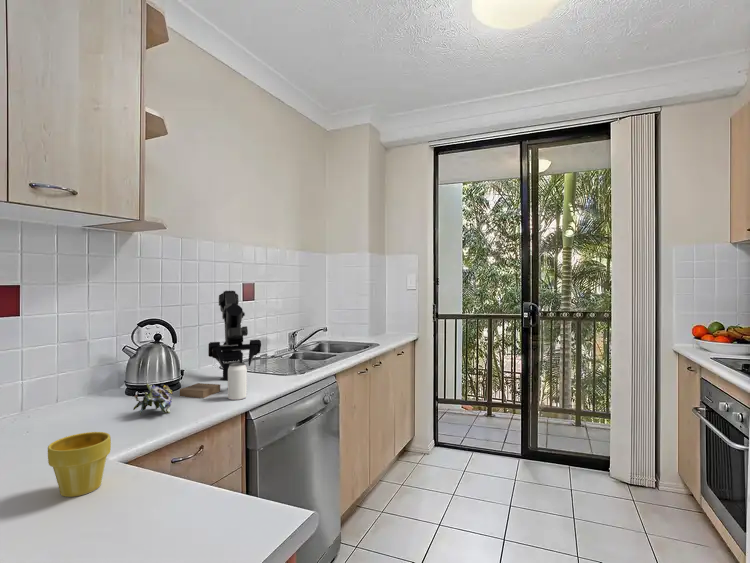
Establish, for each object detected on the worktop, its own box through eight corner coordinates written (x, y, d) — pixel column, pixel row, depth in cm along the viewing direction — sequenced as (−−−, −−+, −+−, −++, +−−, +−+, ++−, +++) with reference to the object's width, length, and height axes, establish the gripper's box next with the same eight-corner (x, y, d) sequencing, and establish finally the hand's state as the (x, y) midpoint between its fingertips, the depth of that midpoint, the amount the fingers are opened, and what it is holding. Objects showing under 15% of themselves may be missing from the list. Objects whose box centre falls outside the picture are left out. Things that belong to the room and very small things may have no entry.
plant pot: (40, 507, 79) (40, 453, 79) (56, 483, 88) (55, 435, 88) (106, 495, 83) (106, 445, 83) (114, 474, 92) (114, 428, 93)
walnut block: (197, 390, 166) (197, 383, 166) (220, 392, 164) (220, 384, 164) (179, 397, 157) (179, 389, 157) (203, 399, 154) (203, 390, 154)
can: (243, 400, 150) (243, 366, 150) (225, 400, 150) (224, 366, 150) (249, 395, 157) (249, 362, 157) (231, 395, 157) (231, 362, 157)
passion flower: (167, 430, 136) (174, 404, 131) (128, 429, 131) (134, 402, 126) (169, 402, 145) (176, 377, 140) (133, 400, 140) (139, 374, 135)
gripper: (208, 320, 159) (209, 354, 148) (260, 318, 166) (264, 351, 155) (208, 339, 166) (208, 373, 156) (257, 336, 173) (261, 369, 163)
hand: (236, 366), depth 157 cm, fingers open, 9 cm apart
